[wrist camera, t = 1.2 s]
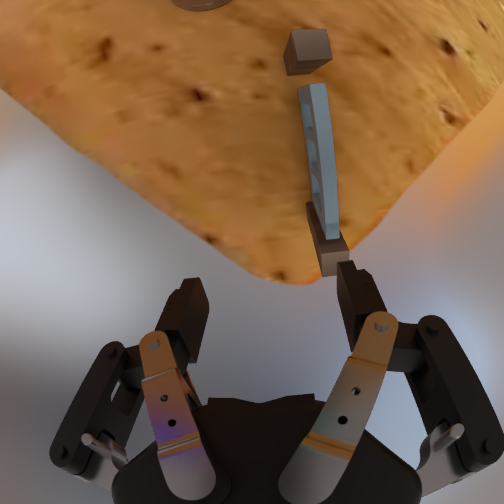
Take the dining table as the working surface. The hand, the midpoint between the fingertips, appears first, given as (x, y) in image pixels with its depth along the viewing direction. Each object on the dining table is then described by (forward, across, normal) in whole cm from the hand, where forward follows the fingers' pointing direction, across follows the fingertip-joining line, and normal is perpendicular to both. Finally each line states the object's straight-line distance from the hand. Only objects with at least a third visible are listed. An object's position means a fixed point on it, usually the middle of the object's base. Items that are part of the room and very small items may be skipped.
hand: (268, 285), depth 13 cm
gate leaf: (+20, -5, -3) cm, 21 cm away
